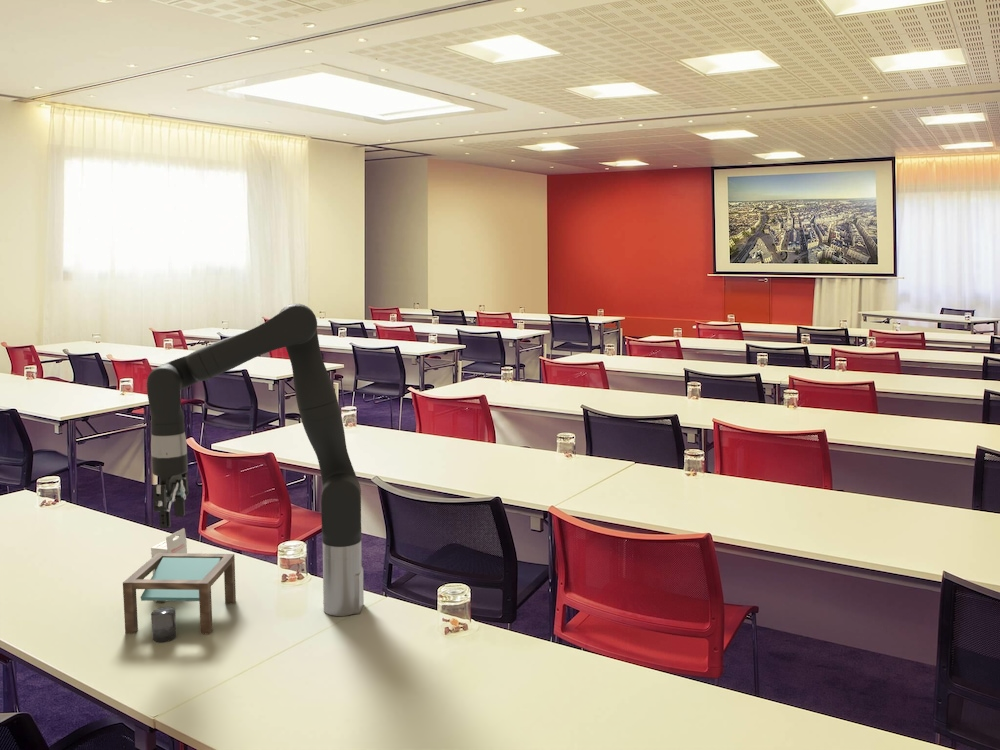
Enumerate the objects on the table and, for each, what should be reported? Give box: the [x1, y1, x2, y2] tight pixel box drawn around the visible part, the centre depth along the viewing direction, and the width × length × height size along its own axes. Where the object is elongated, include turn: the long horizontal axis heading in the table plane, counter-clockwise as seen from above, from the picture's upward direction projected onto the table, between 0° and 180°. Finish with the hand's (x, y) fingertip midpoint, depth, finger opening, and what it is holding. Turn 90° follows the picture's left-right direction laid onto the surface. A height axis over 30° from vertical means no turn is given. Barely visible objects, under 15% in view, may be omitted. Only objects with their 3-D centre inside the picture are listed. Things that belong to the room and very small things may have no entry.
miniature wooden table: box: [122, 552, 237, 635], centre depth 194 cm, size 19×19×12 cm
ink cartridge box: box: [150, 527, 188, 575], centre depth 211 cm, size 9×5×15 cm, turn 168°
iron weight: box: [150, 607, 178, 644], centre depth 183 cm, size 5×5×6 cm
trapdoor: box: [140, 557, 221, 602], centre depth 193 cm, size 14×14×1 cm
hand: (172, 521), depth 188 cm, fingers open, 8 cm apart
